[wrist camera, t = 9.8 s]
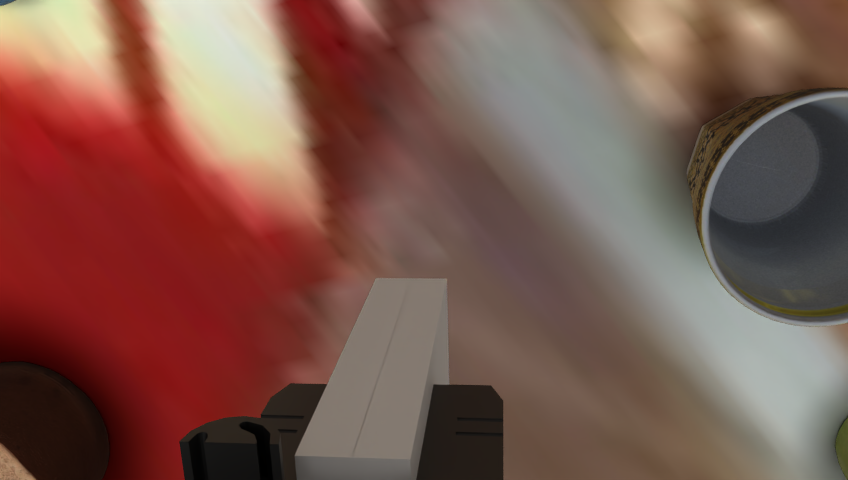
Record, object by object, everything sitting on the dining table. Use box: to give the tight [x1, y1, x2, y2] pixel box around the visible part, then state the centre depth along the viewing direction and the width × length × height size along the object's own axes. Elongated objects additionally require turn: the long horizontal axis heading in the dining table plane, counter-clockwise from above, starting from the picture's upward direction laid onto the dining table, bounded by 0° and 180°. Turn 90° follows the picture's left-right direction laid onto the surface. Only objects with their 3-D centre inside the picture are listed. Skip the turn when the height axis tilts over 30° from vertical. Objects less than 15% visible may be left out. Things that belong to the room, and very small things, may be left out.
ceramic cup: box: [686, 88, 848, 327], centre depth 35 cm, size 13×10×10 cm
